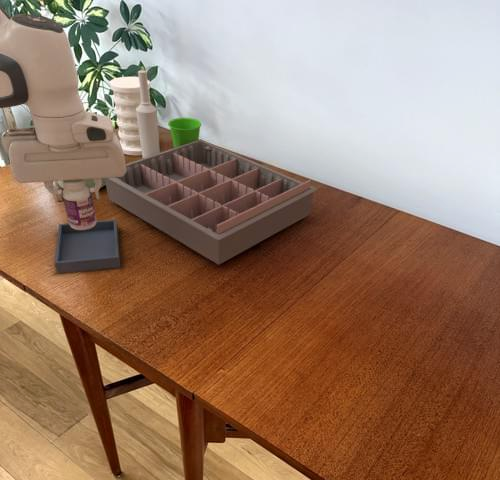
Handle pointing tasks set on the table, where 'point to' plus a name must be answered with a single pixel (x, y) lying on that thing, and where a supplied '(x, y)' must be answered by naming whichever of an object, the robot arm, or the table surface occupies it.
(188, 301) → the table surface
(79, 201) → the pill bottle
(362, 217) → the table surface
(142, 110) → the bottle
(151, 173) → the organizer tray
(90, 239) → the tray
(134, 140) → the decorative container
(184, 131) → the cup
